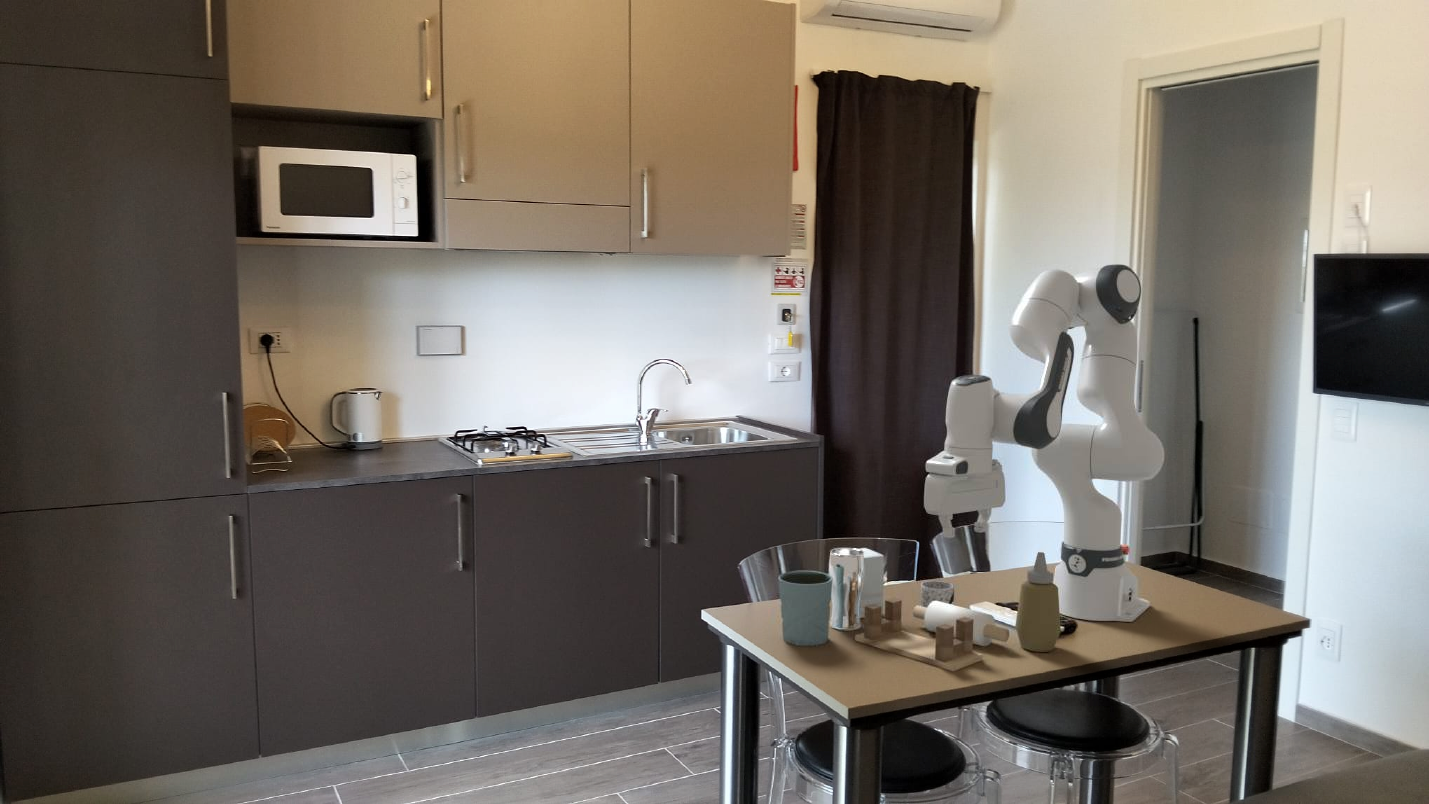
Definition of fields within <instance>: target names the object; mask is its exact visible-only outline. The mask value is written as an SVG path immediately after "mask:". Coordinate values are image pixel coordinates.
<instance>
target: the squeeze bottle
mask: <svg viewBox="0 0 1429 804" xmlns="http://www.w3.org/2000/svg"><path fill="white" fill-rule="evenodd" d="M1035 558H1036V559H1035V562H1034V565H1033V569H1029V570H1027V571H1026V580H1025V581H1024V582H1022V584H1021V585H1020V592H1019V598H1018V606H1017V613H1016V619H1015V630H1016V634H1017V637H1018V641H1019V644H1020V647H1021V648H1022V649H1025V650H1028V651H1030V652H1040V653H1044V652H1047V653H1048V652H1052V651H1054V649H1055V646H1056V643H1057V641H1058V640H1059V637H1060V633H1061V628H1062V627H1061V613H1060V611H1059V595H1058V587H1057V586H1056V585H1055V584H1054V573H1053V572H1052V571H1051V570H1048V566H1047V561H1046V554H1045V552H1043V551H1039V552H1037V554H1036V557H1035Z"/></svg>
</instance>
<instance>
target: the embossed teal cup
mask: <svg viewBox="0 0 1429 804" xmlns="http://www.w3.org/2000/svg"><path fill="white" fill-rule="evenodd" d="M777 580H778V587H779V588H778V589H779V599H780V611H781V613H780V614H781V615H780V616H781V619H782V623H781V625H782V628H781V629H782V638H783V640H784V642H786V641H787V642H786V643H788V642H789V643H788V644H791V643H792V644H791V645H794V644H798V645H797V646H800V645H806V646H805V647H813V646H812V645H816V646H820V645H824V644H825V643H827V642H828V640H829V627H830V617H831V616H830V614H831V604H830V603H831V602H832V598H831V591H832V582H833V578H832V577H831V576H830V575H829V573H825V572H822V571H817V570H793V571H786V572H783V573H781V574H779V576H778V579H777ZM819 644H820V645H819ZM809 645H811V646H809Z"/></svg>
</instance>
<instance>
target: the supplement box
mask: <svg viewBox="0 0 1429 804" xmlns="http://www.w3.org/2000/svg"><path fill="white" fill-rule="evenodd" d="M858 549H859V550H862V551H863V552H864V567H865V573H864V584H863V590H862V595H861V599H860V606H859V616H860V619H863V618H864V619H865V606H868V605H871V604H875V605H879V606H882V615H881V616H883V615H884V586H885V585H884V584H885V583H884V581H885V580H884V576H885V575H884V573H885V570H884V569H885V555H884V554H881V553H879V552H877V551H875V550H872V549H869V548H867V547H861V548H858Z"/></svg>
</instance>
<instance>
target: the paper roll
mask: <svg viewBox="0 0 1429 804" xmlns="http://www.w3.org/2000/svg"><path fill="white" fill-rule="evenodd" d="M912 614H913V617H914V618H916V619H920V620H922V621H924V626H925V628H926V630H927V631H929V632H932V633H935V634H936V626H939V625H942V624H948V625H951V626H954V639H956V619H959V618H962V617H966V618H970V619H974V622H973V645H977V646H981V647H987V646H989V645H990V644H991V643H992V641H993V640H994V641H995V640H996V641H999V642H1003V643H1007V642H1008V640H1009V637H1010V630H1009V629H1008V628H1004V627H1000V626H997V624H996V619H995V617H994V615H992V614H989V613H985V612H982V611H978V610H973V609H969V608H967V607H962V606H958V605H955V604H954V605H951V604H947V603H944V602H940V601H933V602H931V603H930V604H929V606H928V607H927V608H926V607H922V606H920V604H917V605H915V607H913V611H912Z"/></svg>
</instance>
